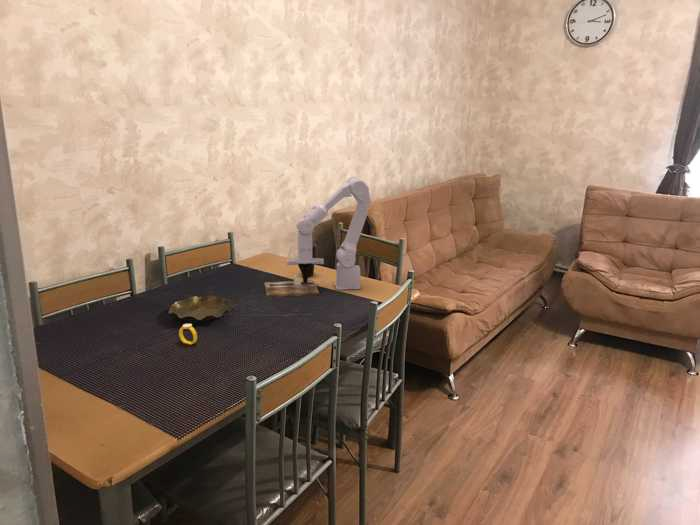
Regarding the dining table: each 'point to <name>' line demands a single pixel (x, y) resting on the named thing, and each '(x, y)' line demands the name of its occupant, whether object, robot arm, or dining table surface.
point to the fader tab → (297, 280)
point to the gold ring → (189, 326)
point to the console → (290, 289)
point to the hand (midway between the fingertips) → (305, 281)
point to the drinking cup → (312, 257)
